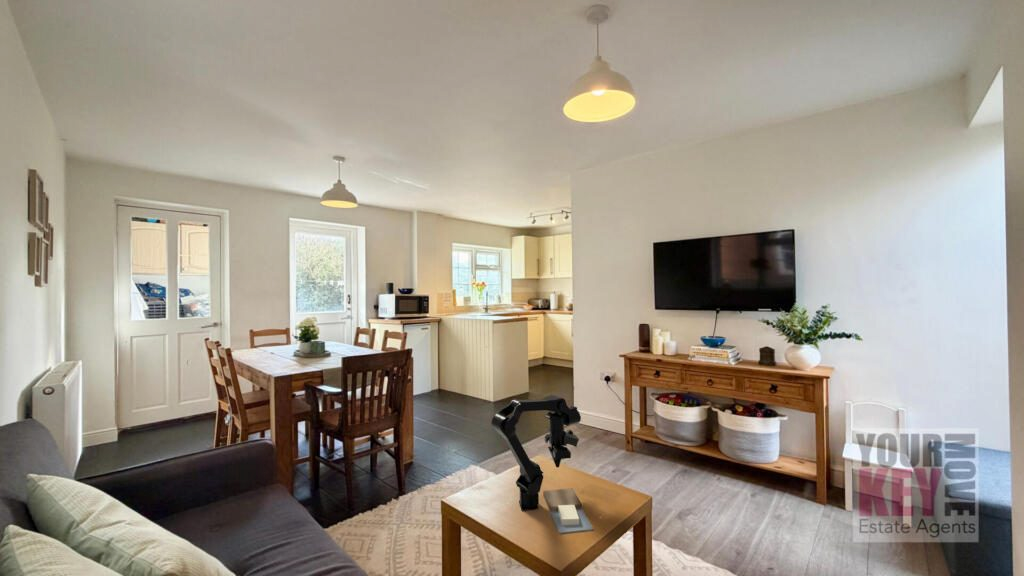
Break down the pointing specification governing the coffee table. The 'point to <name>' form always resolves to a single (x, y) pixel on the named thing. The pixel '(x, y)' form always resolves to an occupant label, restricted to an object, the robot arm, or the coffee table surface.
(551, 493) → the plate
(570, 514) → the tile
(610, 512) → the coffee table surface
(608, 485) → the coffee table surface
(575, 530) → the mat
